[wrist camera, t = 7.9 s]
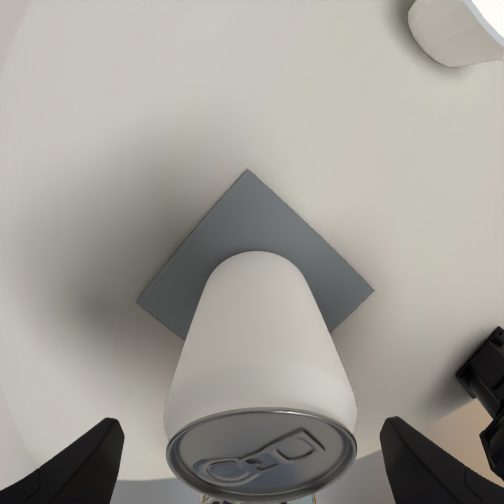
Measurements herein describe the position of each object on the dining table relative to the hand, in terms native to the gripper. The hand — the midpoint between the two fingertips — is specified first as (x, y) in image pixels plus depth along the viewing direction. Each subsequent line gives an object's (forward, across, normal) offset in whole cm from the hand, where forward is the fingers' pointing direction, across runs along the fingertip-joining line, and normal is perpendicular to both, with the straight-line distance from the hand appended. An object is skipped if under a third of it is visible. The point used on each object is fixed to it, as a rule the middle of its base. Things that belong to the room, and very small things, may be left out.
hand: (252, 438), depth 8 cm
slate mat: (+11, 0, 0) cm, 11 cm away
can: (+11, 0, 0) cm, 11 cm away
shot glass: (+11, -13, -19) cm, 26 cm away
